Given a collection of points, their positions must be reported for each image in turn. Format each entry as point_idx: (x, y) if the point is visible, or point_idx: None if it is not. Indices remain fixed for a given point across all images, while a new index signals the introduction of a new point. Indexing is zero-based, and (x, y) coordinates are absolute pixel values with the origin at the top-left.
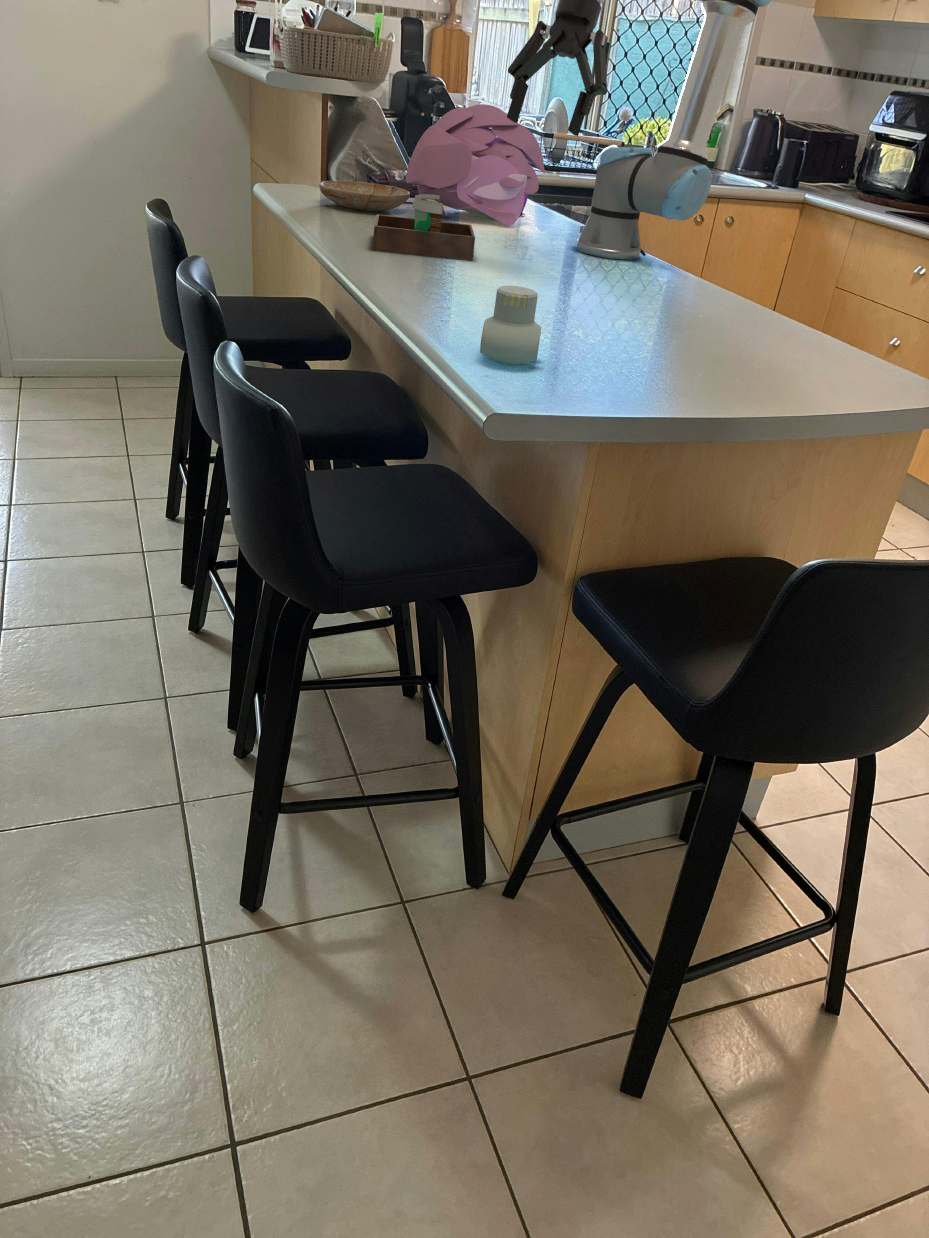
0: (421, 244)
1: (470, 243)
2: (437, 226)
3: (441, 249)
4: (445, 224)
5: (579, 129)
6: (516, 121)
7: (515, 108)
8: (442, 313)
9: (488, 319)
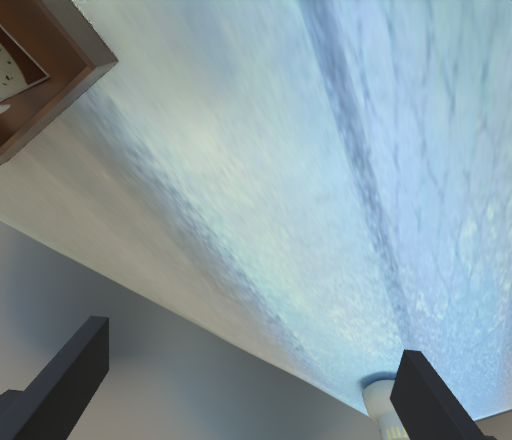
0: (43, 124)
1: (97, 70)
2: (17, 94)
3: (69, 101)
4: None
5: (432, 373)
6: (106, 326)
7: (85, 388)
8: (284, 333)
9: (373, 420)
